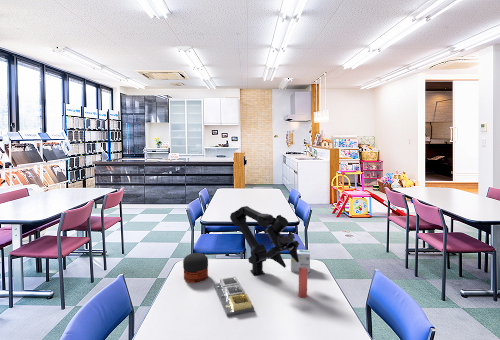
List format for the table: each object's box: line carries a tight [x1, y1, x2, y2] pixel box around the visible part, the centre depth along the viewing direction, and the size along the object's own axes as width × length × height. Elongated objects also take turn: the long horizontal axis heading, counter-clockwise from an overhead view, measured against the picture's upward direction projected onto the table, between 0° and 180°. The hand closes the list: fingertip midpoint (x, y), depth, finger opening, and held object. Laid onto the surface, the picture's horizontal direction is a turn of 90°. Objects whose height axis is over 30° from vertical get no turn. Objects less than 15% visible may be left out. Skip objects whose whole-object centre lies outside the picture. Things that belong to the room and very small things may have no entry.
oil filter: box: [182, 252, 209, 284], centre depth 164 cm, size 13×12×13 cm
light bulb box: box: [290, 249, 311, 273], centre depth 173 cm, size 11×7×11 cm, turn 84°
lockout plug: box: [297, 267, 308, 299], centre depth 145 cm, size 4×4×13 cm
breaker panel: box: [213, 276, 255, 317], centre depth 143 cm, size 27×12×4 cm, turn 18°
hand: (291, 264), depth 150 cm, fingers open, 9 cm apart
